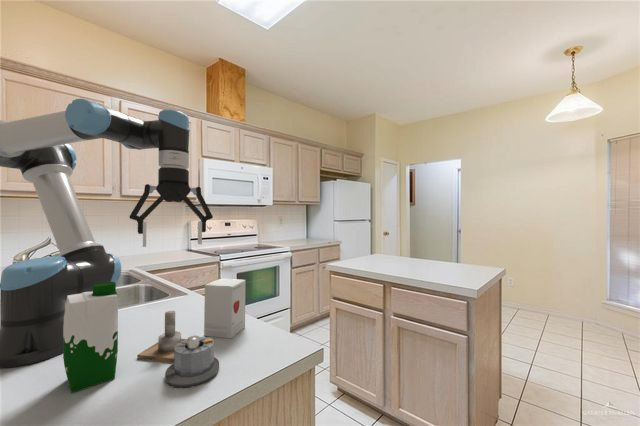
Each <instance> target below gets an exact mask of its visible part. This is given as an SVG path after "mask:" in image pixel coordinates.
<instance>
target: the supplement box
mask: <svg viewBox="0 0 640 426" xmlns="http://www.w3.org/2000/svg"><path fill="white" fill-rule="evenodd" d="M246 284H247V283H246V279H241V278H240V279H239V278H237V279H233V278H219V279H216V280H213V281H211V282H209V283H207V284H204V312H203V313H204V318H203V319H204V320H203V337H206V336H207V337H214V338H224V339H232V338H234V337H235V336H236V335H237V334H239V333H240V332H241V331H242V330H243V329H245V328H246Z"/></svg>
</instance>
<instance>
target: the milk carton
mask: <svg viewBox="0 0 640 426" xmlns="http://www.w3.org/2000/svg"><path fill="white" fill-rule="evenodd" d="M116 285H117V284H116V283H115V282H103V283H97V284H94V285H93V291H92V292H83V293H81V294H74V295H68V296H67V301H66V305H65V314H64V326H63V353H62V354H63V356H62V357H63V358H62V359H63V364H64V365H63V366H64V370H65V374H66V377H67V379H66V380H67V382H68V386H69V389H70V393H71V394H73V393H75V392H78V391H79V392H80V391H81V390H85V389H87V388H91V387H94V386H97V385H100V384H103V383H105V382H109V381H112V380H115V379H116V372H117V370H116V369H117V363H118V362H117V361H118V355H119V354H118V351H119V349H118V348H119V296H118V292H117V289H116V288H117V286H116Z"/></svg>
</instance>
